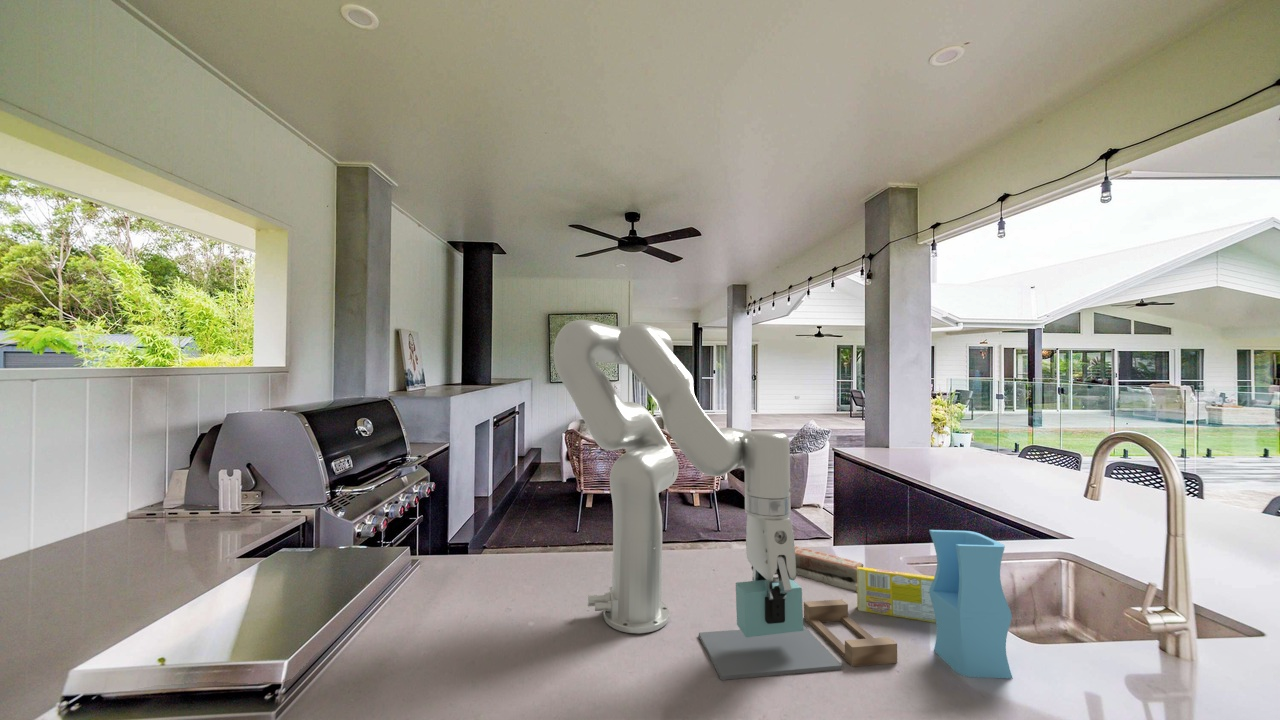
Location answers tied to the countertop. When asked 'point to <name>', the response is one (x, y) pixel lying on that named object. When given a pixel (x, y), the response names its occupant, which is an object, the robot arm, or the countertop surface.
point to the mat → (766, 654)
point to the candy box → (895, 594)
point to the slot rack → (858, 649)
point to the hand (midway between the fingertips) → (768, 613)
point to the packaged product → (827, 568)
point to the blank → (753, 609)
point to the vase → (970, 604)
